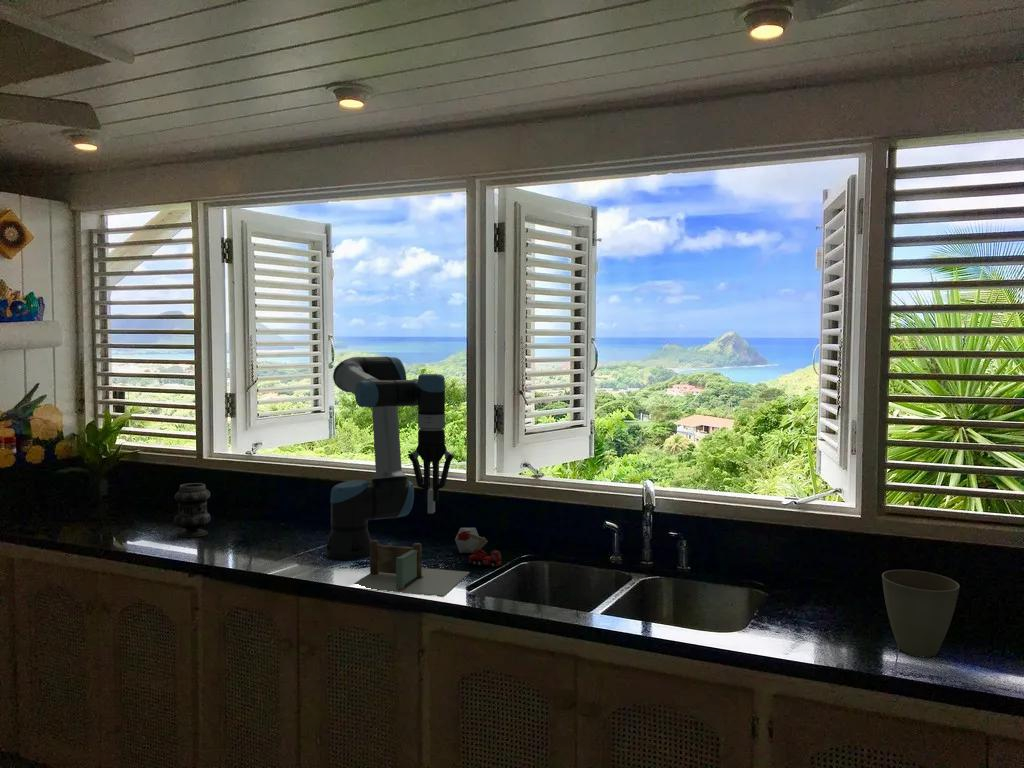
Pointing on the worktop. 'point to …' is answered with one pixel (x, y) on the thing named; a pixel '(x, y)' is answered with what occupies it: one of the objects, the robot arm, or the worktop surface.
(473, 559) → the toy fire truck
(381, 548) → the base
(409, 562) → the green rectangular block
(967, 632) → the worktop surface
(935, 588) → the plant pot
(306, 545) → the worktop surface
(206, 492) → the dark grey urn vase
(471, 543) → the die
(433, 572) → the card
